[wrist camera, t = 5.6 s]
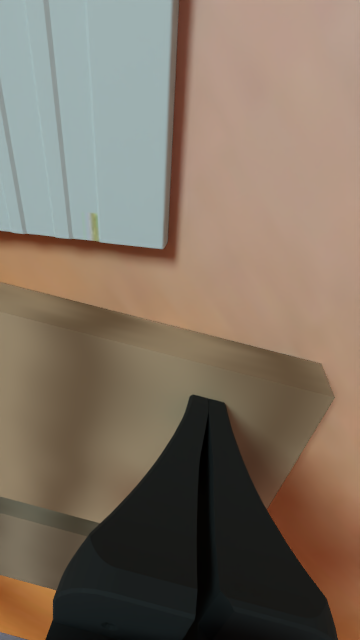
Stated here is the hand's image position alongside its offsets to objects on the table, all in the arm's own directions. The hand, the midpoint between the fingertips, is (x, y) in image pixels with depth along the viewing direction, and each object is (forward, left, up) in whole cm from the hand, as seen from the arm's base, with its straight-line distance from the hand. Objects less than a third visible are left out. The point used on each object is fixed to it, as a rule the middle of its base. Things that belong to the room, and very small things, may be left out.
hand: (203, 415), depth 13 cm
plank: (-6, -4, -2) cm, 7 cm away
